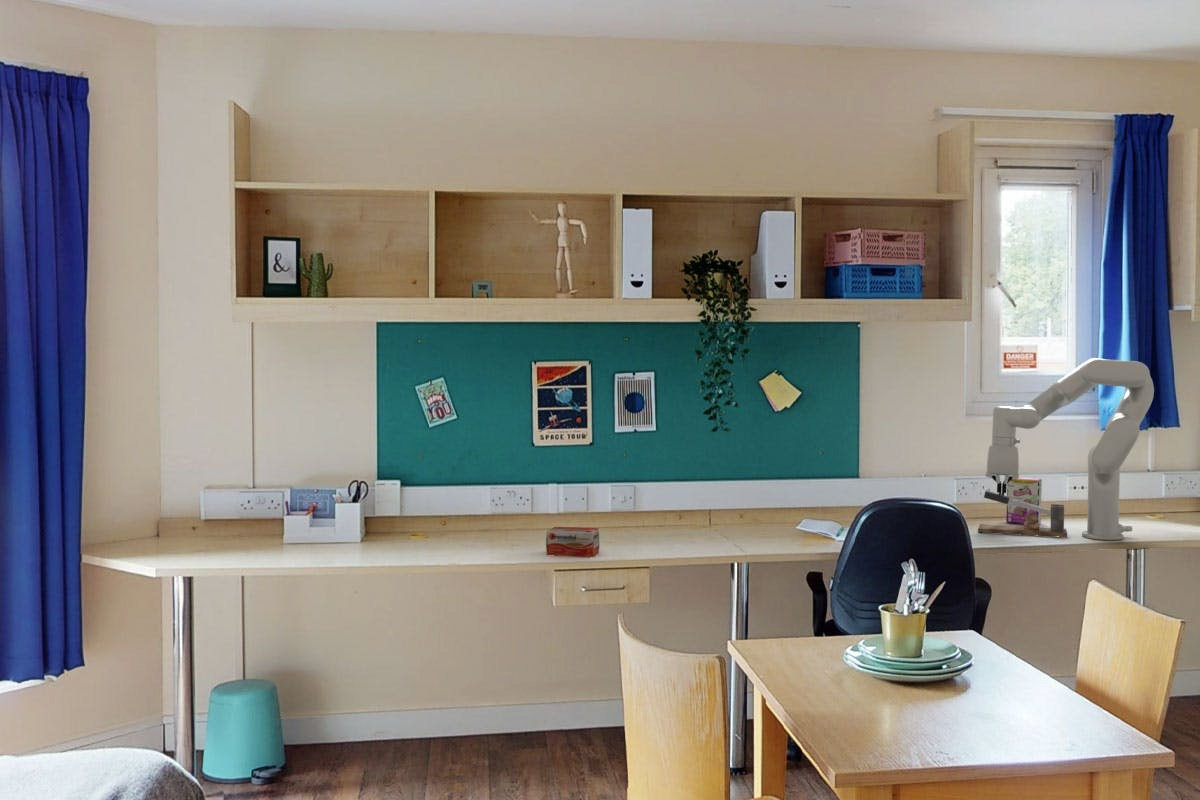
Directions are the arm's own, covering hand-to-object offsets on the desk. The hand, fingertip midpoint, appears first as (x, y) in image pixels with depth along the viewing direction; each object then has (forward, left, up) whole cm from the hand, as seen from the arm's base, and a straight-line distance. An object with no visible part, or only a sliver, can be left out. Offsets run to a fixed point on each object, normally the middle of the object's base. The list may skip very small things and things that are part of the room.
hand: (1001, 494), depth 372 cm
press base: (-6, +3, -13) cm, 14 cm away
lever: (-6, +3, -4) cm, 8 cm away
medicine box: (+150, +19, -13) cm, 152 cm away
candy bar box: (-17, -16, -13) cm, 27 cm away
